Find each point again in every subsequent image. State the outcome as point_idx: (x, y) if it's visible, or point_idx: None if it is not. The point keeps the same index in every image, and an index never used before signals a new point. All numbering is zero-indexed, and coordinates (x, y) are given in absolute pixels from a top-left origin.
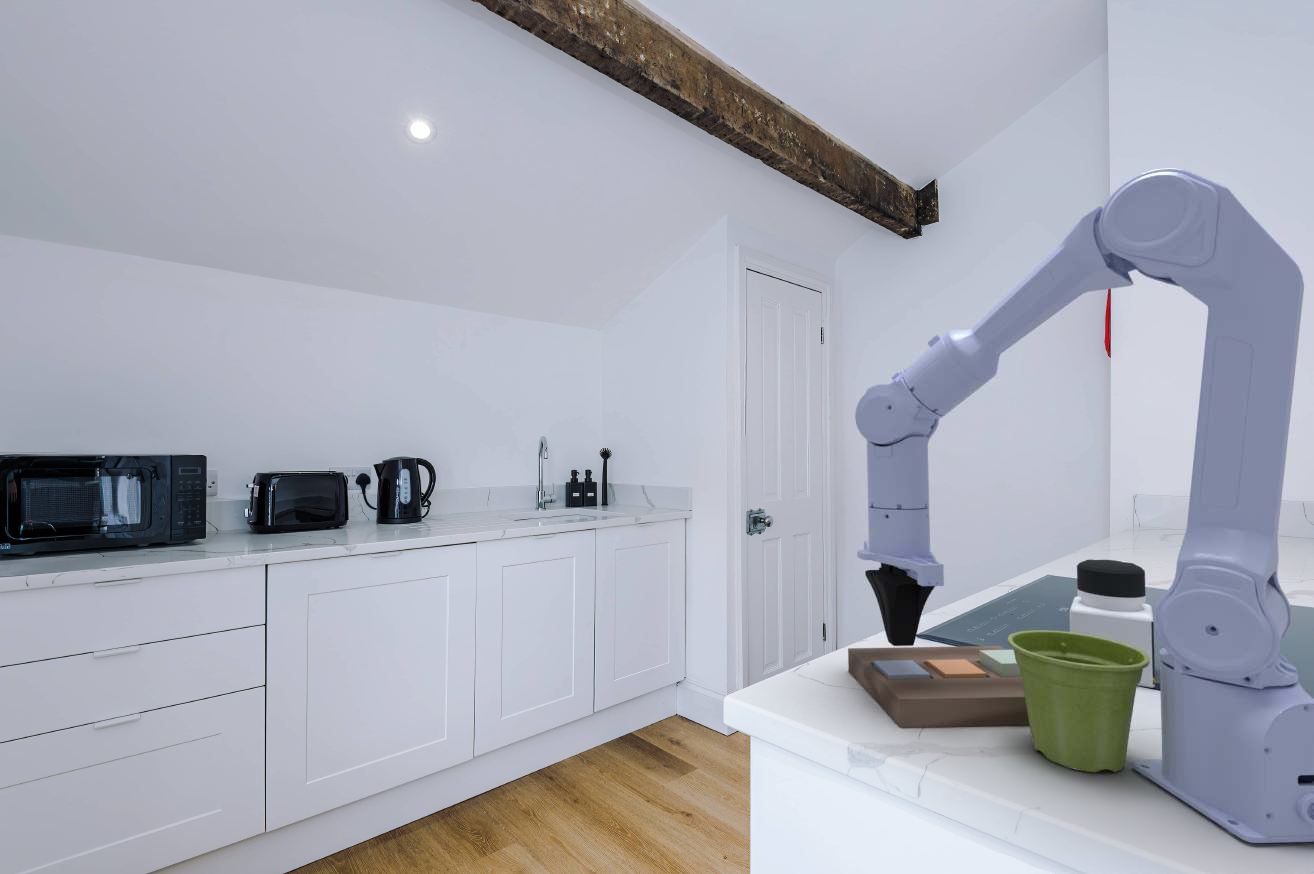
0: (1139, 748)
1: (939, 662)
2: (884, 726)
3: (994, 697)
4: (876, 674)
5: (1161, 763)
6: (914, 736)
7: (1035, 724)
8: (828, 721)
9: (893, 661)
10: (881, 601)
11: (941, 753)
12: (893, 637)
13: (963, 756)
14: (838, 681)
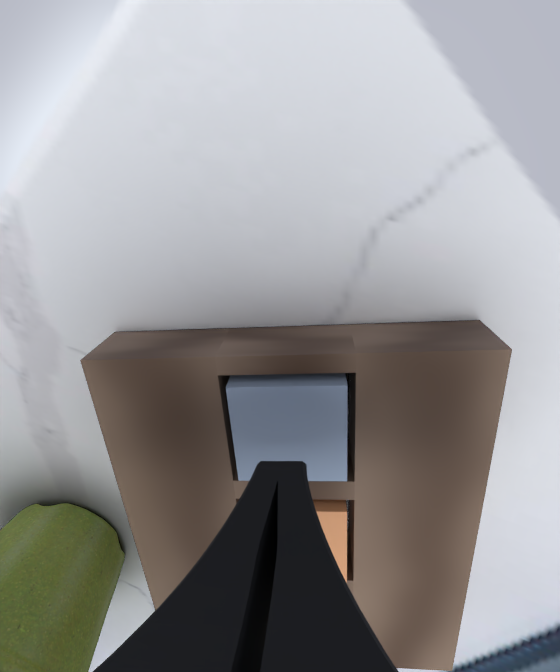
0: (113, 610)
1: (327, 529)
2: (116, 301)
3: (133, 536)
4: (253, 360)
5: None
6: (80, 344)
7: (18, 537)
8: (118, 168)
9: (339, 434)
10: (275, 589)
11: (19, 365)
12: (248, 482)
13: (19, 395)
14: (400, 269)
